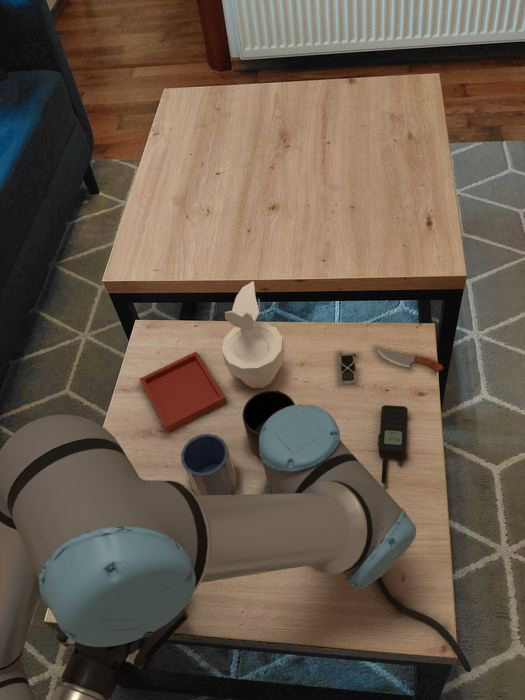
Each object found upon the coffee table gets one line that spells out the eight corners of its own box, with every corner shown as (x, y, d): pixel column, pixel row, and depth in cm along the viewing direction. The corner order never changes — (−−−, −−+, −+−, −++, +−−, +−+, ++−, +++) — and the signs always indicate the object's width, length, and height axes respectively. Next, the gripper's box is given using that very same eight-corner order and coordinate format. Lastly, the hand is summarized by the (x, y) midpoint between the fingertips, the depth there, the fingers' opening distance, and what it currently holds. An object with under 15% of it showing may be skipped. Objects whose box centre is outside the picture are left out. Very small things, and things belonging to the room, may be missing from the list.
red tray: (227, 403, 125) (225, 397, 124) (167, 433, 123) (165, 427, 121) (198, 357, 133) (196, 351, 132) (142, 384, 131) (139, 378, 129)
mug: (306, 409, 122) (302, 380, 115) (296, 465, 115) (292, 438, 108) (257, 405, 124) (250, 376, 117) (244, 460, 117) (237, 433, 110)
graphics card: (340, 352, 129) (355, 351, 128) (340, 354, 129) (355, 353, 129) (341, 381, 124) (357, 380, 124) (341, 384, 125) (357, 383, 124)
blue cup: (244, 489, 113) (235, 460, 105) (204, 511, 111) (192, 483, 104) (225, 456, 118) (215, 426, 110) (186, 476, 116) (173, 447, 108)
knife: (373, 359, 127) (377, 347, 129) (373, 361, 128) (377, 349, 129) (441, 373, 122) (445, 361, 124) (441, 375, 123) (445, 363, 125)
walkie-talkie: (407, 406, 116) (405, 479, 106) (407, 417, 118) (404, 490, 109) (380, 404, 117) (375, 477, 107) (380, 415, 119) (375, 487, 110)
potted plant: (278, 405, 123) (261, 316, 104) (221, 393, 127) (195, 305, 108) (297, 354, 131) (285, 263, 112) (243, 344, 134) (222, 254, 115)
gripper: (19, 672, 96) (84, 539, 109) (172, 725, 89) (223, 576, 102) (-3, 658, 90) (68, 519, 103) (159, 714, 84) (214, 557, 96)
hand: (145, 547), depth 102 cm, fingers open, 13 cm apart
